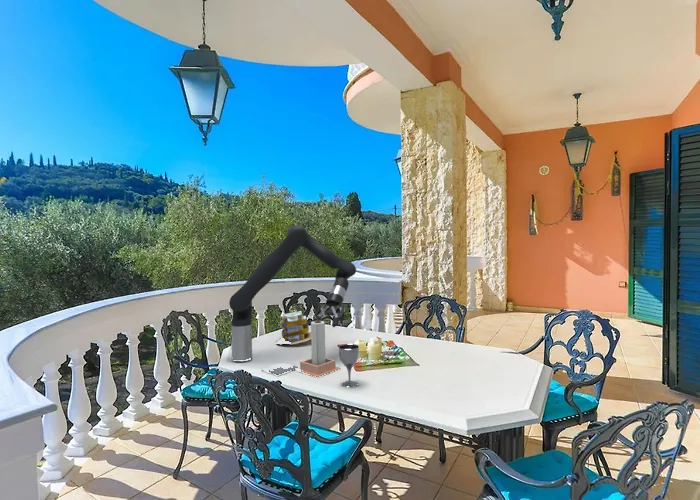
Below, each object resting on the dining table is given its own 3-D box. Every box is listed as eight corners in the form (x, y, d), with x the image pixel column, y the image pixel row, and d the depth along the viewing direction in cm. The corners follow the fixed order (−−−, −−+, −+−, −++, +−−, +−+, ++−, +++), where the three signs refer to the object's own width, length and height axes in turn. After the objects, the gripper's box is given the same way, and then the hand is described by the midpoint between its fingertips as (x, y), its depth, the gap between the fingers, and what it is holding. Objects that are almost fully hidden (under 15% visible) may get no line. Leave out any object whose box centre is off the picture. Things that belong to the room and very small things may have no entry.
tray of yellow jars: (268, 347, 214) (267, 316, 213) (282, 335, 238) (281, 308, 238) (312, 347, 210) (312, 316, 210) (322, 336, 235) (321, 308, 234)
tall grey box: (318, 366, 179) (317, 319, 178) (328, 369, 175) (327, 321, 174) (307, 371, 173) (306, 322, 172) (317, 373, 169) (316, 324, 169)
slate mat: (260, 370, 175) (260, 368, 175) (281, 363, 184) (281, 362, 184) (277, 376, 167) (277, 374, 167) (299, 368, 176) (299, 367, 176)
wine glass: (342, 388, 152) (341, 350, 151) (337, 381, 159) (336, 344, 159) (362, 386, 154) (361, 348, 153) (356, 379, 161) (355, 343, 161)
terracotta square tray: (295, 371, 173) (295, 362, 173) (318, 363, 184) (318, 354, 184) (317, 377, 164) (317, 368, 164) (340, 369, 175) (340, 360, 174)
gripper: (320, 291, 191) (308, 319, 181) (347, 293, 185) (336, 322, 175) (326, 301, 196) (314, 328, 186) (352, 302, 189) (341, 331, 179)
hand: (325, 325), depth 180 cm, fingers open, 8 cm apart
